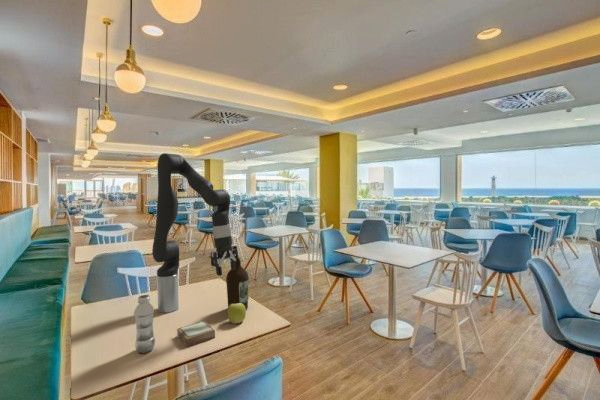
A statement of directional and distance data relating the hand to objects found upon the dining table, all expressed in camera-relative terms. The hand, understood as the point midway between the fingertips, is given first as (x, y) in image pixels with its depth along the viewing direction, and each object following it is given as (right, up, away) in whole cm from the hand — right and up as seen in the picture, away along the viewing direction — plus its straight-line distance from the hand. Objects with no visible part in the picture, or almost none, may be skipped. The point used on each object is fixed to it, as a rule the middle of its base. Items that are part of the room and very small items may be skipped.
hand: (226, 272), depth 134 cm
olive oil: (+2, -22, +16) cm, 27 cm away
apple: (+4, -22, +2) cm, 23 cm away
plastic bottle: (-25, -24, -21) cm, 40 cm away
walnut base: (-10, -23, -11) cm, 27 cm away
